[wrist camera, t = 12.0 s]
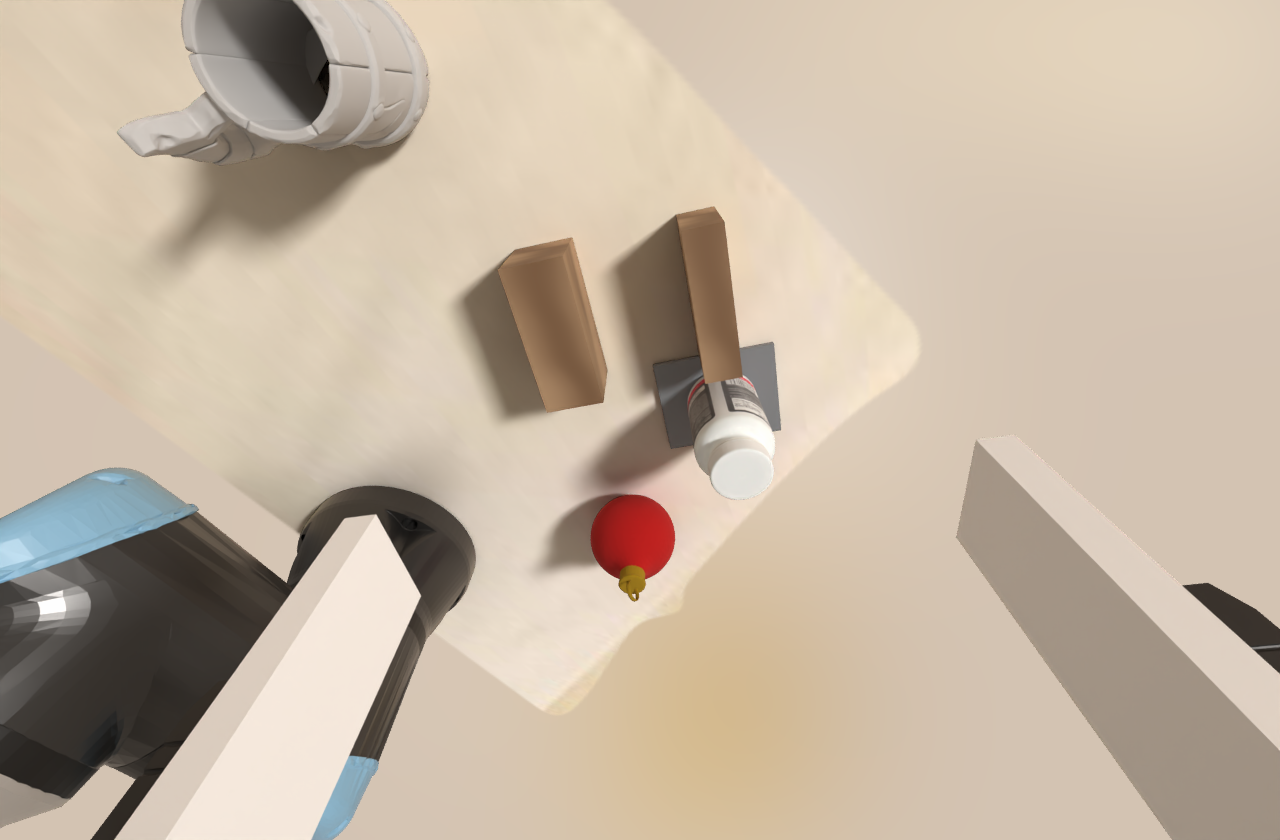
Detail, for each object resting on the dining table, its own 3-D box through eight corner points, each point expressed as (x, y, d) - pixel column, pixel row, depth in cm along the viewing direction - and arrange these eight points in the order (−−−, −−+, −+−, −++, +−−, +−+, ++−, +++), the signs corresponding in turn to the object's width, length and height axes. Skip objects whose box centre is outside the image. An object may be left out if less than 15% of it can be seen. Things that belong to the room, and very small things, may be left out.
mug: (463, 99, 31) (374, 97, 21) (320, 205, 34) (181, 249, 24) (369, -49, 28) (208, -138, 17) (220, 83, 31) (7, 74, 20)
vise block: (556, 379, 41) (546, 412, 36) (515, 249, 36) (497, 270, 31) (731, 347, 39) (742, 377, 35) (714, 206, 34) (724, 221, 30)
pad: (670, 446, 44) (670, 448, 43) (653, 364, 40) (653, 366, 40) (779, 427, 43) (780, 430, 42) (772, 341, 39) (773, 344, 39)
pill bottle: (703, 438, 43) (718, 520, 34) (675, 386, 40) (683, 460, 32) (766, 411, 42) (797, 490, 33) (741, 356, 39) (767, 425, 31)
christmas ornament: (686, 520, 48) (696, 611, 39) (619, 548, 50) (615, 641, 41) (648, 465, 45) (649, 551, 36) (578, 497, 47) (564, 586, 38)
